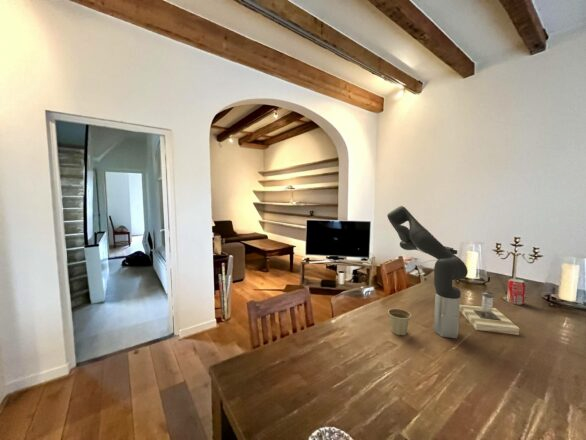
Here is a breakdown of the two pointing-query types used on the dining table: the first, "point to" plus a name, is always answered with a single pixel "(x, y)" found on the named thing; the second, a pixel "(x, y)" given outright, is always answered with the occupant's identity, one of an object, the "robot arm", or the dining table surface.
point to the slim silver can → (487, 304)
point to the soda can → (516, 291)
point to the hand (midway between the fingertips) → (450, 252)
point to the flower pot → (399, 321)
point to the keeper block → (488, 320)
